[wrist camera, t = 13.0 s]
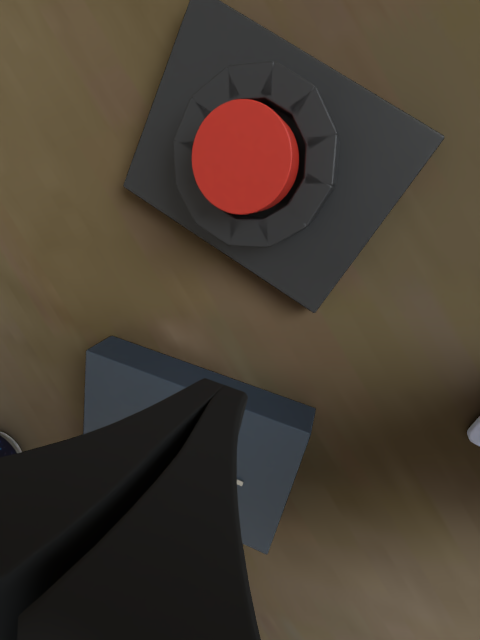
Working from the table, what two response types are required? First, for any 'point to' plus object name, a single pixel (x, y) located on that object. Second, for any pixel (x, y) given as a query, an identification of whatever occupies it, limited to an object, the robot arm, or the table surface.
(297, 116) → the button block
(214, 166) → the button
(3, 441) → the beverage can
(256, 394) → the console
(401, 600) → the table surface
